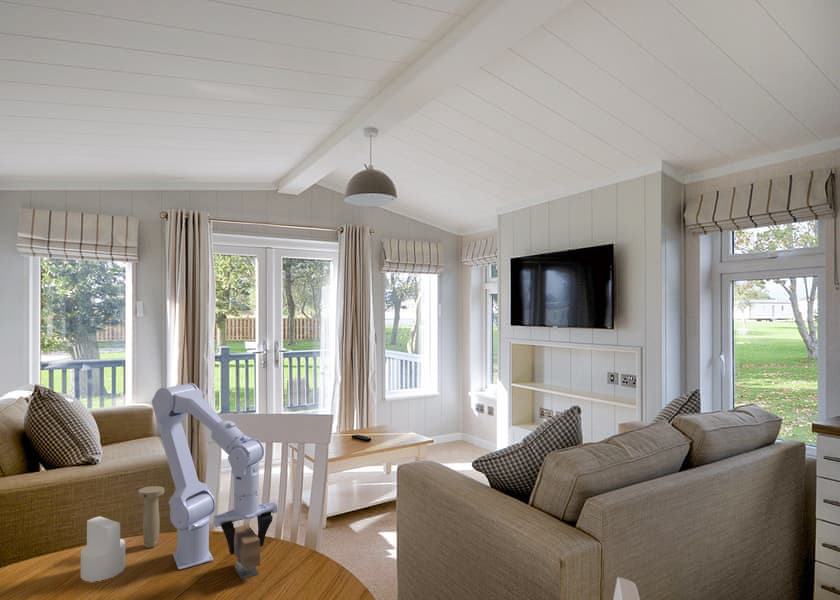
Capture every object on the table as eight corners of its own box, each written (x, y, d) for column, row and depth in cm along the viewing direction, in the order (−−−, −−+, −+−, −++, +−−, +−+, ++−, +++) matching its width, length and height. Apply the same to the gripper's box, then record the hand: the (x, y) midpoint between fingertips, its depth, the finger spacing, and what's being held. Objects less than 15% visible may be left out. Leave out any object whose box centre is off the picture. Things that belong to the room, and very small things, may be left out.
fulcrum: (234, 568, 120) (234, 555, 120) (251, 563, 122) (251, 551, 122) (241, 579, 115) (241, 566, 115) (258, 574, 117) (258, 561, 117)
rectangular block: (233, 552, 122) (233, 527, 122) (248, 548, 124) (248, 524, 124) (244, 570, 114) (244, 543, 114) (259, 565, 116) (259, 539, 116)
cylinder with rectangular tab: (72, 576, 117) (72, 525, 117) (111, 559, 125) (111, 511, 125) (94, 586, 113) (94, 533, 113) (133, 567, 121) (133, 518, 121)
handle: (155, 551, 129) (155, 493, 129) (133, 549, 130) (134, 492, 130) (168, 542, 133) (168, 486, 134) (146, 540, 134) (146, 485, 135)
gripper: (218, 504, 112) (218, 564, 111) (281, 490, 120) (281, 546, 120) (211, 494, 117) (211, 551, 117) (272, 482, 126) (272, 535, 125)
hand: (246, 548), depth 119 cm, fingers open, 6 cm apart
